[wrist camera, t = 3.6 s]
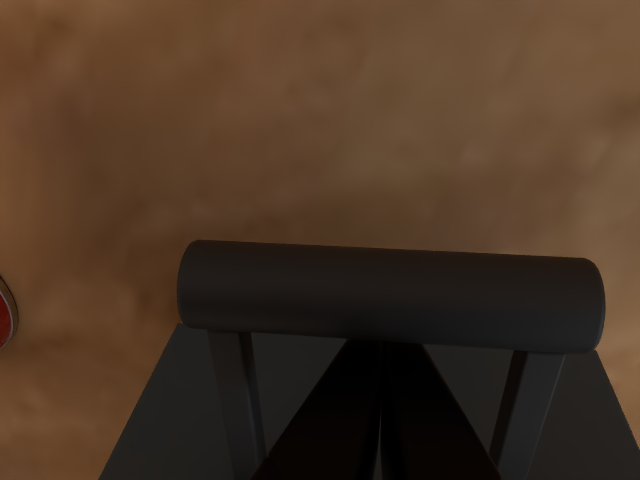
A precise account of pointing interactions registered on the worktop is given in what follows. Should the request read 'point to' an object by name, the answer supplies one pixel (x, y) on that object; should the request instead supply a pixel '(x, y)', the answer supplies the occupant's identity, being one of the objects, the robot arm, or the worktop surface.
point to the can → (7, 315)
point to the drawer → (379, 325)
